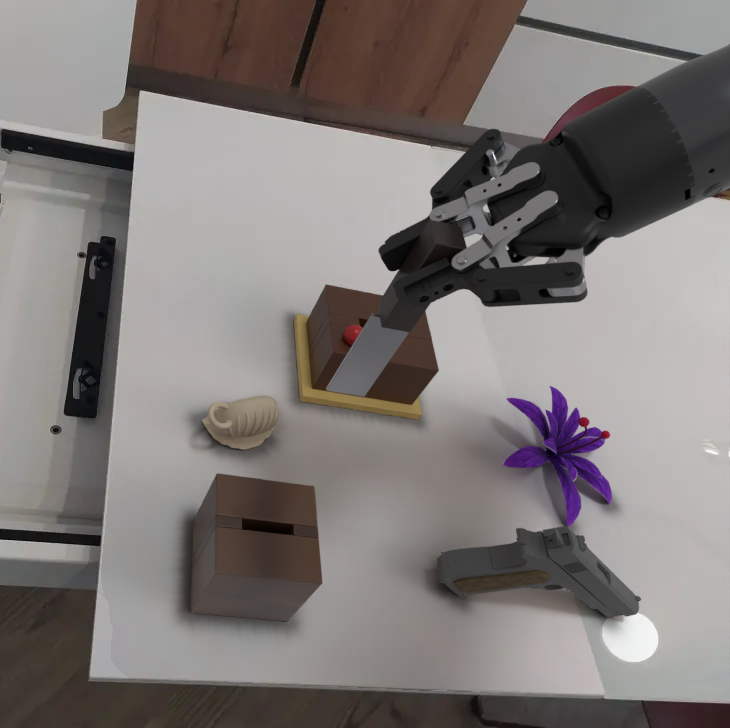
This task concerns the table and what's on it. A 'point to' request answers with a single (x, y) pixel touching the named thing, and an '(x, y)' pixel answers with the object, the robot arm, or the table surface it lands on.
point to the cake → (335, 338)
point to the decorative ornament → (242, 421)
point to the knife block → (255, 549)
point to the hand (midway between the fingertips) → (391, 278)
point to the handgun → (539, 570)
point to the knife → (393, 314)
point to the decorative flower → (563, 449)
